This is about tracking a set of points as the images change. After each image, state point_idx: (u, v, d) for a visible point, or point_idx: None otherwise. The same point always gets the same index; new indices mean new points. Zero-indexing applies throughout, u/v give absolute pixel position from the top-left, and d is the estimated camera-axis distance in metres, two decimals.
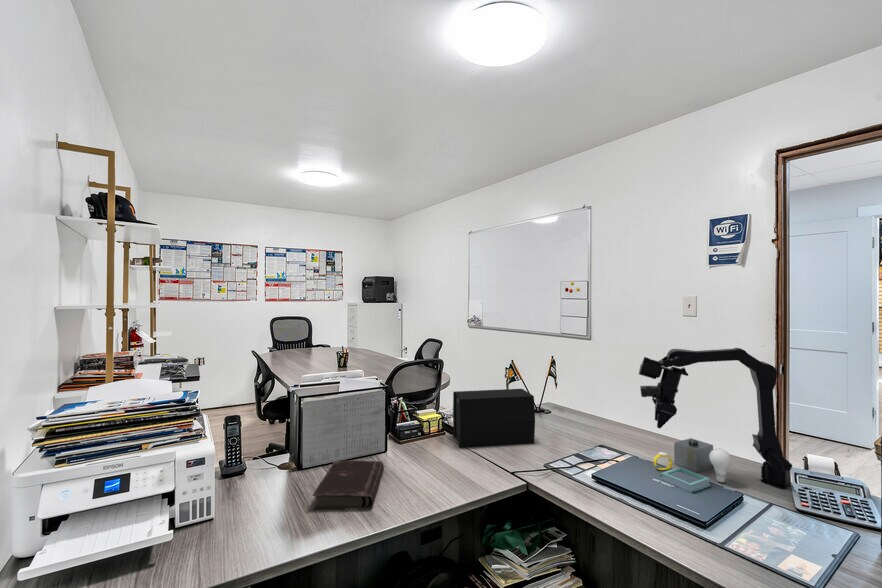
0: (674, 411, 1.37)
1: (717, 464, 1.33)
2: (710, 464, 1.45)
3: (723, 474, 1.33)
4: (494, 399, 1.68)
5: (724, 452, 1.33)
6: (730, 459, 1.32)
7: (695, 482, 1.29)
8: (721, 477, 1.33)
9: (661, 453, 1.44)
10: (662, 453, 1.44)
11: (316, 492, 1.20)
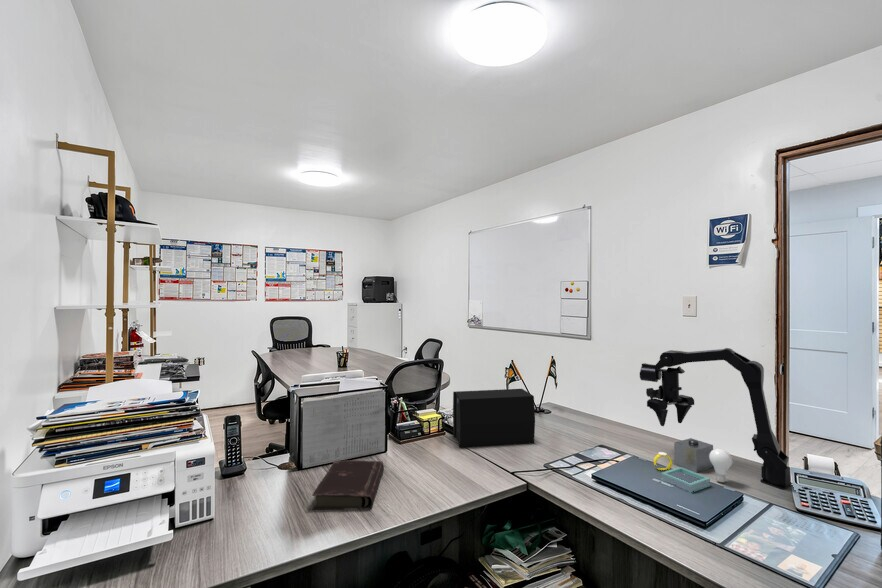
0: (658, 406, 1.49)
1: (717, 464, 1.33)
2: (710, 464, 1.45)
3: (723, 474, 1.33)
4: (494, 399, 1.68)
5: (724, 452, 1.33)
6: (730, 459, 1.32)
7: (695, 482, 1.29)
8: (721, 477, 1.33)
9: (661, 453, 1.44)
10: (662, 453, 1.44)
11: (316, 492, 1.21)
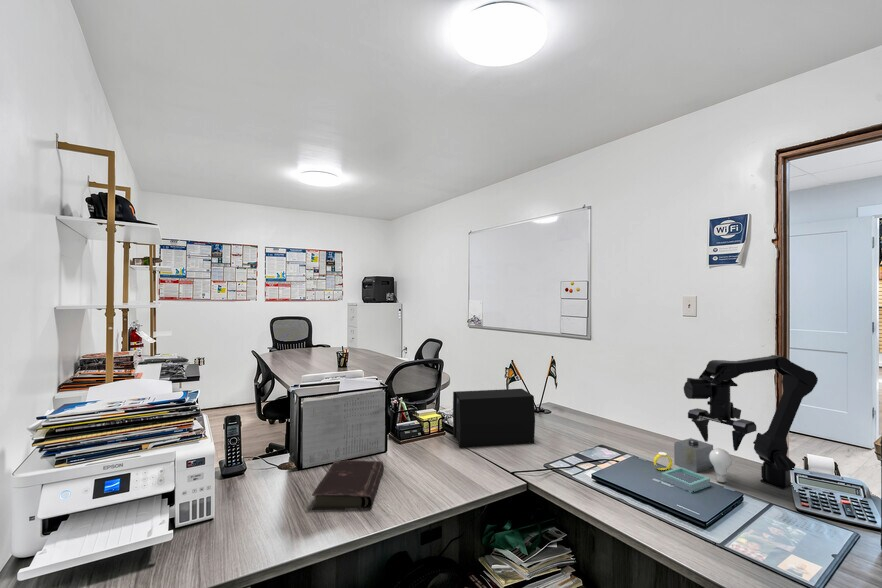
0: None
1: (717, 464, 1.33)
2: (710, 464, 1.45)
3: (723, 474, 1.33)
4: (494, 399, 1.68)
5: (724, 452, 1.33)
6: (730, 459, 1.32)
7: (695, 482, 1.29)
8: (721, 477, 1.33)
9: (661, 453, 1.44)
10: (662, 453, 1.44)
11: (315, 492, 1.21)
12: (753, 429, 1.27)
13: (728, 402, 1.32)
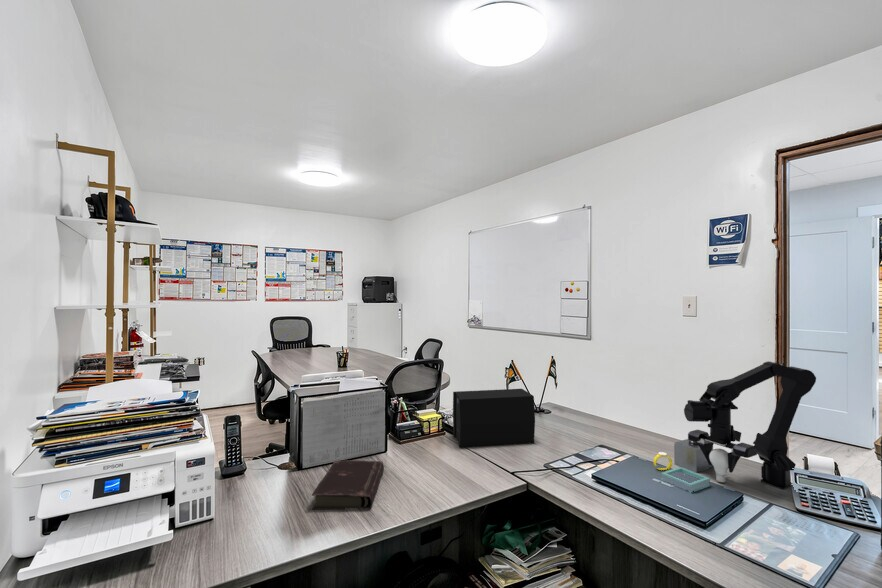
0: None
1: (717, 464, 1.33)
2: None
3: (723, 474, 1.33)
4: (494, 399, 1.68)
5: (724, 452, 1.33)
6: None
7: (695, 482, 1.29)
8: (721, 477, 1.33)
9: (661, 453, 1.45)
10: (662, 453, 1.44)
11: (315, 492, 1.21)
12: (753, 453, 1.27)
13: (728, 425, 1.32)
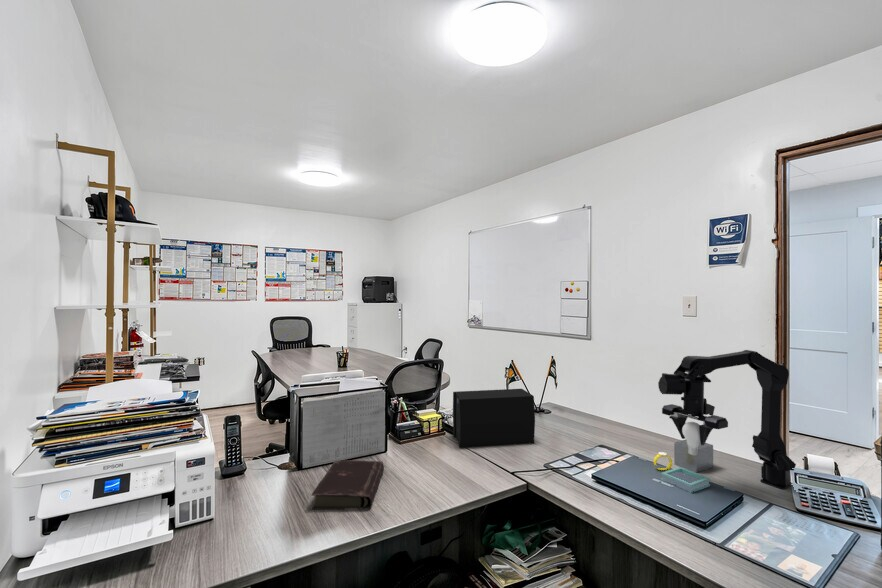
0: None
1: (689, 437, 1.32)
2: (710, 464, 1.45)
3: (695, 447, 1.33)
4: (494, 399, 1.68)
5: (696, 425, 1.33)
6: None
7: (695, 482, 1.29)
8: (693, 450, 1.33)
9: (661, 453, 1.44)
10: (662, 453, 1.44)
11: (315, 492, 1.21)
12: (725, 425, 1.26)
13: (701, 398, 1.32)
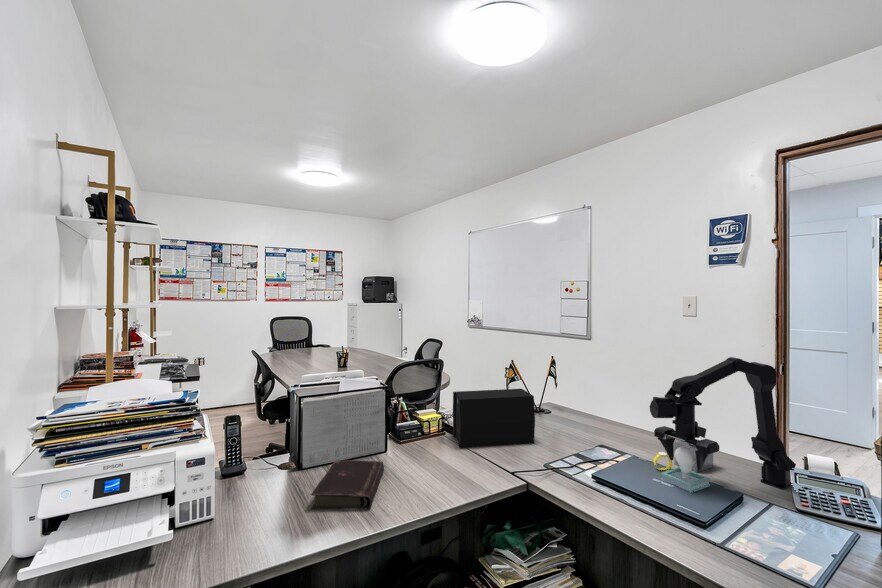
0: None
1: (681, 462, 1.32)
2: (710, 464, 1.45)
3: (688, 472, 1.33)
4: (494, 399, 1.68)
5: (688, 450, 1.32)
6: (694, 457, 1.31)
7: (695, 482, 1.29)
8: (686, 475, 1.33)
9: (661, 453, 1.45)
10: (662, 453, 1.44)
11: (315, 492, 1.21)
12: (716, 449, 1.26)
13: (692, 421, 1.31)
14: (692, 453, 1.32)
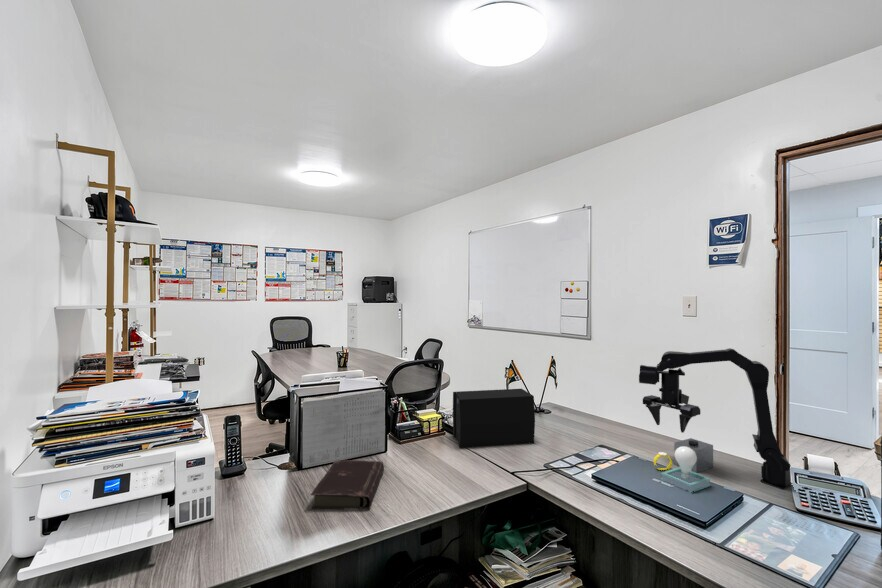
0: None
1: (681, 462, 1.32)
2: (710, 464, 1.45)
3: (688, 472, 1.33)
4: (494, 399, 1.68)
5: (689, 450, 1.32)
6: (694, 457, 1.31)
7: (695, 482, 1.29)
8: (686, 475, 1.33)
9: (661, 453, 1.44)
10: (662, 453, 1.44)
11: (314, 491, 1.21)
12: (697, 412, 1.41)
13: (677, 389, 1.46)
14: (692, 453, 1.32)
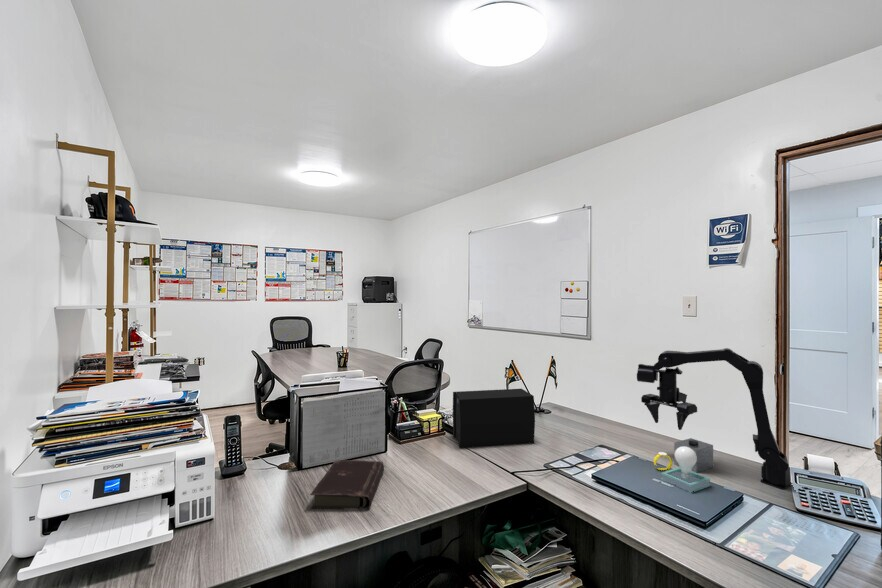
0: None
1: (682, 462, 1.32)
2: (710, 464, 1.45)
3: (688, 472, 1.33)
4: (494, 399, 1.68)
5: (689, 450, 1.32)
6: (694, 457, 1.31)
7: (695, 482, 1.29)
8: (686, 475, 1.33)
9: (661, 453, 1.44)
10: (662, 453, 1.44)
11: (314, 491, 1.21)
12: (694, 410, 1.44)
13: (674, 387, 1.49)
14: (692, 453, 1.32)
